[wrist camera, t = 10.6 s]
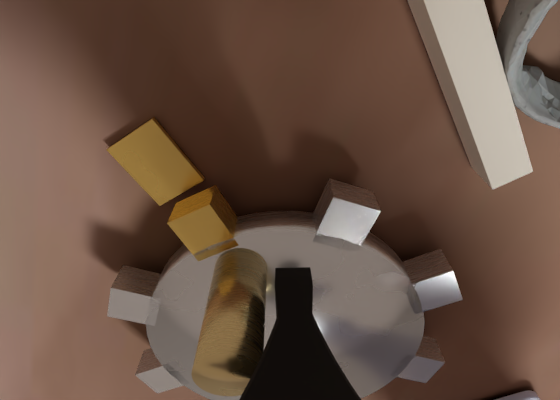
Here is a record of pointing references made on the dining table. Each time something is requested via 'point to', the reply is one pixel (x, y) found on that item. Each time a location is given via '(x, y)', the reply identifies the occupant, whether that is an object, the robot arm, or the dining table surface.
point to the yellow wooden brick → (156, 162)
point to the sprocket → (261, 294)
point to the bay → (474, 86)
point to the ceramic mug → (525, 79)
